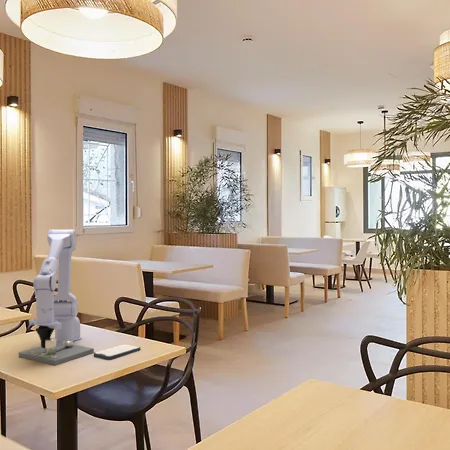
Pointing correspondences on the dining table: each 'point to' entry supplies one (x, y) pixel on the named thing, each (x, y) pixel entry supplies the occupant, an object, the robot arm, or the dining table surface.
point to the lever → (51, 346)
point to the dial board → (56, 354)
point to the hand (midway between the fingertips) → (45, 347)
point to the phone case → (116, 352)
